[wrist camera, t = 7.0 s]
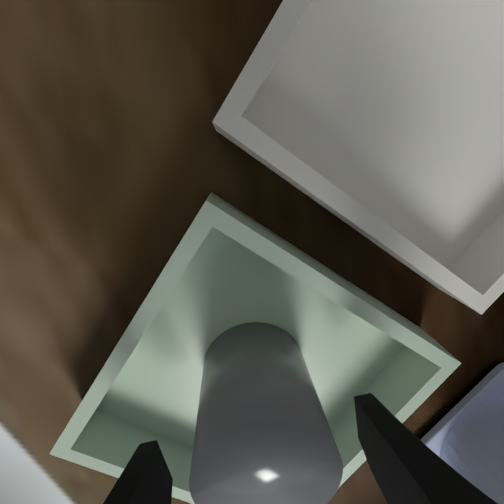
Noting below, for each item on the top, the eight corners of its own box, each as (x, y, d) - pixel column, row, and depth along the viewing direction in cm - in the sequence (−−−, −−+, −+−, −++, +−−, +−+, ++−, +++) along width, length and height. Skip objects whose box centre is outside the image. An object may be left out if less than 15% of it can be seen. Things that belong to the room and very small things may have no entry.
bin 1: (653, 40, 11) (778, 5, 8) (434, 286, 13) (481, 314, 11) (440, -249, 8) (534, -431, 6) (216, 130, 11) (212, 122, 8)
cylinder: (322, 359, 13) (373, 467, 9) (256, 419, 14) (270, 548, 9) (250, 303, 12) (263, 393, 7) (182, 372, 13) (156, 493, 8)
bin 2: (420, 327, 14) (461, 363, 12) (280, 481, 17) (289, 537, 14) (211, 191, 11) (206, 200, 9) (81, 401, 14) (49, 453, 11)
